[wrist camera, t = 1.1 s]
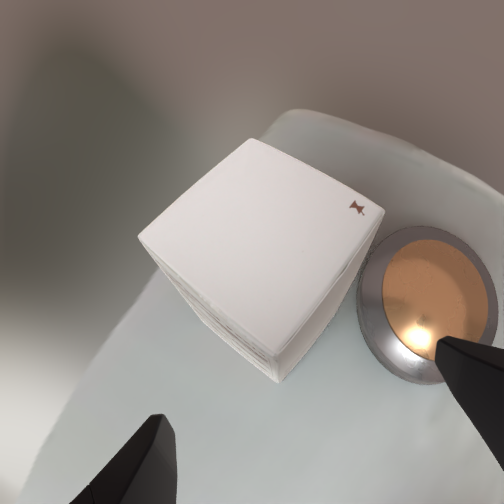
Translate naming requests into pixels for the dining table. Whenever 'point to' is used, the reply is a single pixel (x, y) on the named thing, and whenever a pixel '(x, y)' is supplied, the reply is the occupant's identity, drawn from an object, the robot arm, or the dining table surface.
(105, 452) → the dining table surface
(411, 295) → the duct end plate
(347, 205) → the supplement box
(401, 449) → the dining table surface
